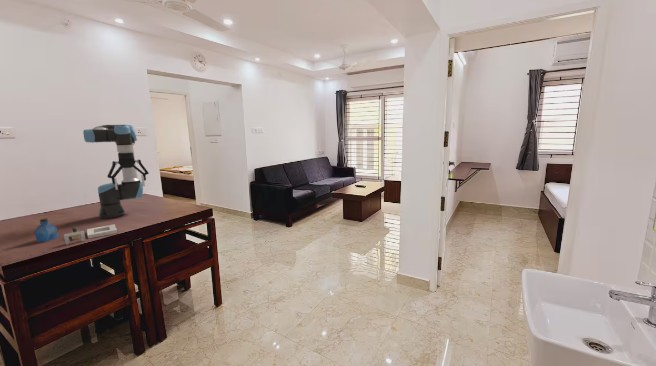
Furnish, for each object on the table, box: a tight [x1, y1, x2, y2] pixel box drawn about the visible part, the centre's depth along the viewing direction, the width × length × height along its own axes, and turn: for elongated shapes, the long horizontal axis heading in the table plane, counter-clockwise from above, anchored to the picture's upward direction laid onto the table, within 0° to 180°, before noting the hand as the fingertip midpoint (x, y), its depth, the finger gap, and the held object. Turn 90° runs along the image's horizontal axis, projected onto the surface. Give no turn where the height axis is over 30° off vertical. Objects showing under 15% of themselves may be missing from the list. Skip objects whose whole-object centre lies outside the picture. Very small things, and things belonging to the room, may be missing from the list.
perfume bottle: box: [34, 217, 59, 243], centre depth 159 cm, size 6×6×12 cm
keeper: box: [63, 230, 86, 246], centre depth 155 cm, size 2×8×5 cm, turn 131°
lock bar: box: [71, 226, 80, 241], centre depth 162 cm, size 8×3×5 cm, turn 41°
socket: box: [86, 223, 118, 239], centre depth 169 cm, size 14×14×2 cm
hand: (130, 187), depth 170 cm, fingers open, 13 cm apart
